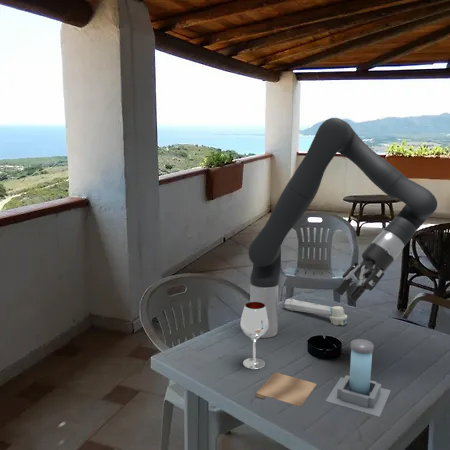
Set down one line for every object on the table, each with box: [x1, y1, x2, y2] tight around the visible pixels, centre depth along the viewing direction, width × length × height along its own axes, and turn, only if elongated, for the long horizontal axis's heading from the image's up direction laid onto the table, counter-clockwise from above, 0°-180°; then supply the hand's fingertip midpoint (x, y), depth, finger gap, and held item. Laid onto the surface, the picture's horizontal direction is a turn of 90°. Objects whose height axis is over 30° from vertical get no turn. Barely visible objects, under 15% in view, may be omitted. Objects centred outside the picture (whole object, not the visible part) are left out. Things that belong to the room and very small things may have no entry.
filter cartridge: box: [349, 338, 375, 396], centre depth 116 cm, size 5×5×14 cm
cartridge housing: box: [325, 374, 392, 418], centre depth 117 cm, size 13×13×4 cm
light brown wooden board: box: [255, 371, 317, 408], centre depth 121 cm, size 12×12×1 cm
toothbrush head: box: [282, 298, 348, 326], centre depth 170 cm, size 5×7×25 cm
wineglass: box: [240, 301, 269, 370], centre depth 134 cm, size 8×8×18 cm
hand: (344, 296), depth 126 cm, fingers open, 8 cm apart
